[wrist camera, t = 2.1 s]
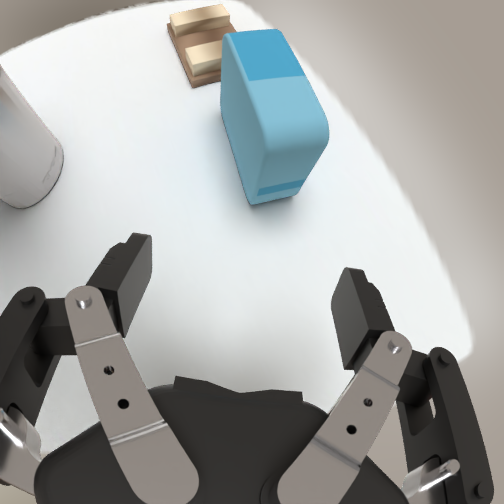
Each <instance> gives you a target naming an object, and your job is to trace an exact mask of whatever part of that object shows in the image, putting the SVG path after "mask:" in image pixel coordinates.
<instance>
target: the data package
mask: <svg viewBox="0 0 504 504" xmlns="http://www.w3.org/2000/svg"><path fill="white" fill-rule="evenodd" d="M220 106H221V113H222V118H223V121H224V125H225V128H226V131H227V135H228V138H229V141H230V144H231V148H232V151H233V154H234V158H235V161H236V164H237V168H238V171H239V174H240V178H241V181H242V184H243V188H244V191H245V194H246V197H247V200H248V201H249V203H250V204H252V205H254V204H258V203H263V202H267V201H271V200H276V199H280V198H285V197H289V196H294V195H296V194H297V193H298V191H299V190H300V188H301V187H302V185H303V183H304V182H305V180H306V178H307V177H308V175H309V174H310V172H311V170H312V169H313V167H314V166H315V164H316V162H317V161H318V159H319V157H320V156H321V154H322V153H323V151H324V149H325V148H326V146H327V144H328V140H329V126H328V121H327V118H326V115H325V113H324V111H323V109H322V107H321V105H320V103H319V101H318V99H317V97H316V95H315V93H314V91H313V89H312V87H311V85H310V83H309V81H308V79H307V77H306V75H305V73H304V72H303V70H302V68H301V66H300V64H299V62H298V60H297V59H296V57H295V55H294V53H293V51H292V50H291V48H290V46H289V44H288V43H287V41H286V39H285V38H284V36H283V34H282V33H281V32H280V31H279V30H277V29H268V30H254V31H243V32H234V33H226V34H225V35H224V36H223V39H222V61H221V97H220Z"/></svg>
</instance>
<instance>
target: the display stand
mask: <svg viewBox="0 0 504 504" xmlns="http://www.w3.org/2000/svg"><path fill="white" fill-rule="evenodd" d="M167 29H168V32H169V34H170V37H171V39H172V41H173V44H174V46H175V48H176V51H177V53H178V55H179V58H180V60H181V62H182V65H183V67H184V69H185V72H186V74H187V76H188V79H189V81H190V83H191V86H192V88H195V87H198V86H202V85H206V84H210V83H213V82H217V81H221V61H222V39H223V36H224V35H225V34H226V33H234V32H236V30H235V29H234V27H233V26H232V24H231V23H230V14H229V13H228V11H227V10H226V9H225V7H224V6H223V5H222V4H219V5H213V6H208V7H202V8H197V9H193V10H188V11H183V12H179V13H175V14H171V15H170V23H168V24H167Z"/></svg>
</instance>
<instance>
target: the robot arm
mask: <svg viewBox="0 0 504 504" xmlns="http://www.w3.org/2000/svg"><path fill="white" fill-rule="evenodd" d="M62 164H63V150H62V147H61V145H60V143H59V142H58V140H57V139H56V138H55V137H54V135H53V134H52V133H51V132H50V130H49V129H48V128H47V127H46V125H45V124H44V123H43V121H42V120H41V119H40V118H39V116H38V115H37V114H36V112H35V111H34V110H33V109H32V107H31V106H30V105H29V103H28V102H27V101H26V99H25V98H24V97H23V95H22V94H21V93H20V91H19V90H18V89H17V87H16V86H15V85H14V83H13V82H12V81H11V79H10V78H9V76H8V75H7V74H6V72H5V71H4V69H3V68H2V67H1V65H0V199H2V200H3V201H5V202H6V203H8V204H10V205H11V206H13V207H16V208H26V207H29V206H32V205H34V204H36V203H37V202H39V201H40V200H41V199H42V198H43V197H45V196H46V195H47V193H48V192H49V191H50V190H51V189H52V187H53V186H54V184H55V182H56V181H57V179H58V176H59V174H60V172H61V168H62ZM151 273H152V237H151V235H146V234H140V233H132V235H131V236H130V237H129V239H128V240H127V242H126V243H118V244H117V245H115V246H113V247H112V248H110V250H109V251H108V253H107V254H106V255H105V258H103V260H102V261H101V263H100V264H99V266H98V267H97V269H96V270H95V272H94V273H93V275H92V276H91V278H90V279H89V281H88V282H87V284H86V285H85V286H80V287H77V288H75V289H73V290H71V291H70V292H69V293H68V294H67V296H66V298H53V299H46V297H45V294H44V292H43V291H42V290H41V289H40V288H37V287H26V288H24V289H21V290H20V291H18V292H17V293H16V294H15V295H14V296H13V298H12V299H11V301H10V302H9V304H8V305H7V307H6V308H5V310H4V311H3V313H2V315H1V316H0V484H2V485H6V486H9V485H12V486H14V487H16V488H18V489H21V490H23V491H25V492H27V493H29V494H31V495H33V496H35V498H36V502H37V504H490V503H491V501H492V499H493V495H494V486H493V481H492V476H491V471H490V467H489V463H488V458H487V454H486V450H485V446H484V442H483V439H482V435H481V431H480V428H479V425H478V421H477V418H476V415H475V411H474V408H473V405H472V402H471V399H470V396H469V393H468V390H467V387H466V385H465V382H464V379H463V377H462V374H461V371H460V368H459V366H458V363H457V361H456V359H455V357H454V356H453V354H452V353H451V352H449V351H448V350H446V349H444V348H442V347H435V348H433V349H432V350H431V351H430V353H429V354H428V355H427V354H424V353H421V352H418V351H415V350H412V346H411V344H410V342H409V341H408V339H407V338H406V337H405V336H403V335H402V334H400V333H398V332H395V329H394V327H393V324H392V322H391V319H390V316H389V314H388V311H387V309H386V306H385V304H384V302H383V299H382V297H381V294H380V292H379V290H378V289H377V288H376V287H375V286H374V285H373V284H372V283H369V282H368V280H367V278H366V276H365V273H364V271H363V270H361V269H354V268H348V267H346V268H344V270H343V272H342V274H341V277H340V279H339V282H338V284H337V286H336V289H335V291H334V294H333V296H332V301H331V310H332V315H333V319H334V324H335V328H336V333H337V338H338V342H339V347H340V352H341V357H342V362H343V367H344V370H354V372H355V375H354V376H353V378H352V379H351V381H350V382H349V384H348V385H347V387H346V388H345V390H344V391H343V393H342V394H341V395H340V397H339V398H338V400H337V401H336V403H335V404H334V405H333V407H332V408H331V409H330V411H329V412H328V413H326V412H324V411H323V410H321V409H320V408H318V407H317V406H315V405H313V404H310V403H308V402H305V401H303V397H302V392H297V391H284V390H264V391H255V392H246V393H238V392H234V391H232V390H229V389H226V388H223V387H221V386H218V385H215V384H213V383H210V382H207V381H202V380H196V379H190V378H185V377H179V376H176V377H175V381H174V385H163V386H158V387H154V388H151V389H149V390H147V389H146V387H145V385H144V383H143V381H142V379H141V377H140V375H139V373H138V371H137V369H136V367H135V364H134V362H133V360H132V358H131V356H130V354H129V352H128V349H127V347H126V345H125V343H124V341H123V338H125V336H126V334H127V332H128V329H129V327H130V324H131V322H132V320H133V317H134V315H135V313H136V310H137V308H138V306H139V303H140V301H141V299H142V297H143V294H144V292H145V290H146V288H147V285H148V283H149V281H150V278H151ZM61 355H77V356H78V359H79V363H80V366H81V369H82V372H83V375H84V378H85V381H86V384H87V387H88V390H89V393H90V395H91V398H92V401H93V403H94V406H95V409H96V411H97V414H98V416H99V419H100V421H99V422H98V423H96V424H95V425H93V426H92V427H90V428H88V429H87V430H85V431H84V432H82V433H81V434H79V435H78V436H76V437H75V438H73V439H71V440H70V441H68V442H67V443H65V444H64V445H62V446H60V447H59V448H57V449H56V450H54V451H52V452H51V453H49V454H48V455H47V456H46V457H45V458H44V459H43V460H42V459H41V455H40V447H41V439H40V436H39V433H38V431H37V430H36V429H35V428H34V426H35V423H36V420H37V417H38V414H39V412H40V409H41V406H42V403H43V401H44V398H45V395H46V392H47V390H48V387H49V385H50V382H51V380H52V377H53V375H54V372H55V370H56V367H57V365H58V363H59V360H60V358H61ZM431 398H433V402H434V406H435V409H436V415H435V418H433V414H432V410H431V406H430V402H429V400H430V399H431ZM395 400H396V404H397V409H398V413H399V419H400V424H401V430H402V436H403V442H404V447H405V454H406V461H407V468H408V474H407V476H406V477H405V479H404V481H403V487H402V488H401V489H400V488H399V487H398V486H397V485H396V484H394V482H393V481H392V480H390V479H389V477H388V476H386V474H385V473H384V472H383V471H382V470H381V469H380V468H378V466H377V465H376V464H375V463H374V462H373V461H372V460H371V459H370V458H369V457H368V456H367V453H368V451H369V449H370V448H371V446H372V444H373V442H374V440H375V439H376V437H377V435H378V433H379V431H380V429H381V428H382V426H383V424H384V422H385V420H386V418H387V416H388V414H389V412H390V410H391V408H392V406H393V404H394V402H395Z"/></svg>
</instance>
